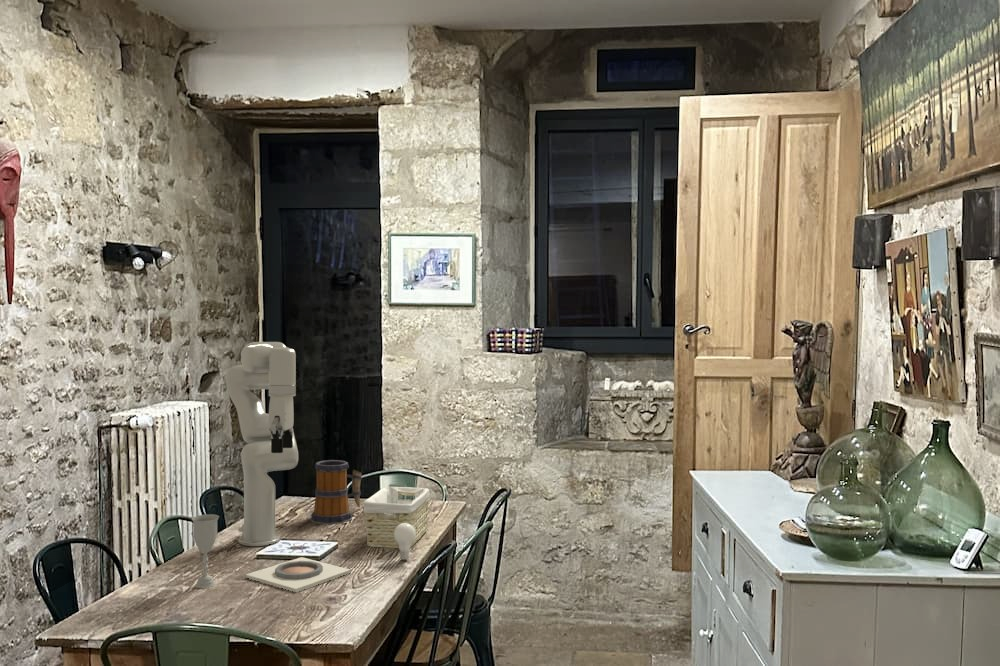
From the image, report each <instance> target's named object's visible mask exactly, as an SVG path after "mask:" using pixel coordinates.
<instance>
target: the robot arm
mask: <svg viewBox="0 0 1000 666" xmlns="http://www.w3.org/2000/svg"><path fill="white" fill-rule="evenodd" d="M296 358H297V355H296V351H295V349H293V348H290V347H288V346H286V345H285V344H284V343H283V342H280V341H253V342H249V343H247V344H245V345H244V346H243V348H242V349H241V353H240V360H241V364H238V365H233V366H231V367H229V369H228V370H227V372H226V376H225V379H226V380H225V381H226V383H225V384H226V388H227V392H228V395H229V397H230V400H231V401H232V403H233V405H234V407H235V408H236V412H237V417H238V422H239V427H240V432H241V436H242V439H243V441H244V442H245V443H247V444H246V445H244V446H243V448H242V450H241V452H240V453H241V454H240V460H241V465H242V474H243V524H242V525H241V526H239V527H238V529H237V530H238V532H240V533H242V534H241V536H240V537H239V538H238V543H239V544H240V545H242V546H246V547H262V546H263V547H265V546H269V544H271V545H274V544H276V543H275V542H277V543H279V541H280V540H281V535H279V534H277V533H276V484H275V481H274V480H273V479H272V478H271V477H270V476H269V475H268V473H269V472H274V471H275V472H277V471H287V470H292V469H295V468H296V467H297V466H298V464H299V463H298V462H299V450H298V445H297V440H296V437H295V432H294V428H293V427H294V424H295V423H294V421H295V420H294V417H295V416H294V415H295V413H294V397H296V396H297V394H296V393H297V392H296V391H297V389H296V387H297V384H296V382H297V381H296V380H297V379H296V378H297V375H296V374H297V371H296V369H297V367H296V366H297V365H296V363H297V362H296ZM250 390H252V391H253V390H268V397H270V398H269V403H268V404H269V406H268V413H266V410H265V406H264V403H263V401H262V400H261V399H260V398H259V397H258V396H257V394H254V393H253V392H252V391H250ZM273 543H274V544H273Z"/></svg>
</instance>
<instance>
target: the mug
mask: <svg viewBox="0 0 1000 666" xmlns="http://www.w3.org/2000/svg"><path fill="white" fill-rule="evenodd" d="M314 468H315V470H316V487H315V489H314V491H315V493H314V494H315V500H314V507H313V512H312V513H311V516H310V521H311V523H313V524H318V525H319V524H320V525H338V524H337V523H340V524H344V522H345V523H348V522H351V520H352V519H353V516H352V513H351V511H350V509H349V507H350V506H349V498H352V497H353V499H354V502H355V504H356V505H357V507H358V508H361V507H360V506H361V503H360V500H361V499H360V496H361V495H362V494H361V493H362V492H361V481H362V472H361V471H359V470H355V469H353V470H352V474H347V471H348V469H349V468H350V466H349V462H348V461H345V460H339V459H338V460H337V459H328V460H320V461H316V462H315V464H314ZM348 478H351V489H352V492H351V493H349V488H348V486H347V485H348V484H347V482H348V480H347V479H348Z"/></svg>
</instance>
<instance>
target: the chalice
mask: <svg viewBox="0 0 1000 666" xmlns="http://www.w3.org/2000/svg"><path fill="white" fill-rule="evenodd" d="M219 518H220V515H217V514H213V513H211V514H199V515H195V516H193V517H191V521H192V522H193V539H194V542H195V545H196V547H197V548H198V551H199V552H200V553H202V555H203V556H202V557H203V558H202V562H203V563H202V566H201V568H202V569H203V570H202V571H203V572H202V575H200V576H198V578H197V581H196V583H195V585H194V586H195V588H197V589H207V588H211V587H214V586H216V583H215V580H214V579H213V576H212V575H211V574H209V573H208V569H209V567H210V566H209V565H208V561H209V558H208V553H210V552H211V551H212V549H213V547H214V545H215V542H216V540H217V536H218V520H219Z"/></svg>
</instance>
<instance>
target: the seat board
mask: <svg viewBox="0 0 1000 666" xmlns="http://www.w3.org/2000/svg"><path fill="white" fill-rule="evenodd" d="M349 573H350V574H352V570H351V568H350V569H349V568H345V567H342V566H337V565H334V564H331V563H326V562H323V561H318V560H315V559H310V558H307V557H301V556H299V557H298V558H294V559H291V560H288V561H285V562H281V563H279V564H275V565H272V566H269V567H266V568H263V569H259V570H256V571H253V572H249V573H246V574H245V579H247V578H249V579H248V580H251V579H252V580H251V581H254V580H256V581H255V582H257V581H260V582H259V583H261V582H263V583H262V584H264V583H266V584H265V585H268V584H270V585H269V586H271V585H273V586H272V587H275V586H276V587H275V588H278V587H279V588H278V589H281V588H283V589H282V590H285V589H286V590H285V591H288V590H289V592H292V591H293V593H295V592H297V593H299V591H300V592H302V591H305V590H307V589H311V588H313V586H314V587H317V586H319V585H322V584H324V582H325V583H328V582H330V581H329V580H331V581H332V579H333V580H336V579H338V577H339V578H341V577H340V576H342V577H344V576H343V575H345V576H347V575H349ZM346 574H347V575H346ZM335 578H336V579H335ZM327 581H328V582H327ZM318 584H319V585H318ZM316 585H317V586H316ZM310 587H311V588H310ZM304 589H305V590H304Z"/></svg>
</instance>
